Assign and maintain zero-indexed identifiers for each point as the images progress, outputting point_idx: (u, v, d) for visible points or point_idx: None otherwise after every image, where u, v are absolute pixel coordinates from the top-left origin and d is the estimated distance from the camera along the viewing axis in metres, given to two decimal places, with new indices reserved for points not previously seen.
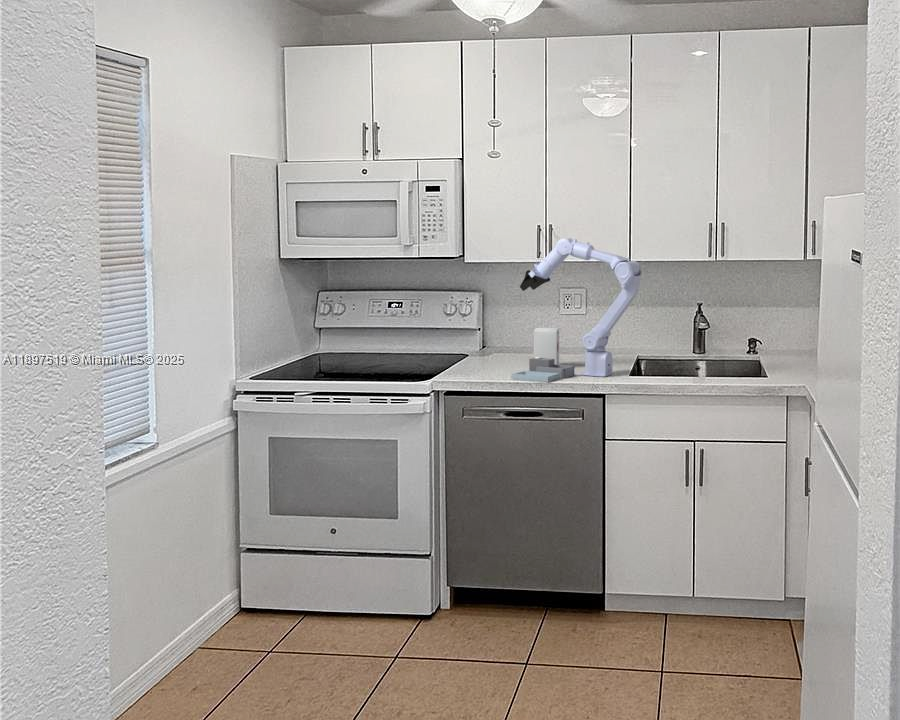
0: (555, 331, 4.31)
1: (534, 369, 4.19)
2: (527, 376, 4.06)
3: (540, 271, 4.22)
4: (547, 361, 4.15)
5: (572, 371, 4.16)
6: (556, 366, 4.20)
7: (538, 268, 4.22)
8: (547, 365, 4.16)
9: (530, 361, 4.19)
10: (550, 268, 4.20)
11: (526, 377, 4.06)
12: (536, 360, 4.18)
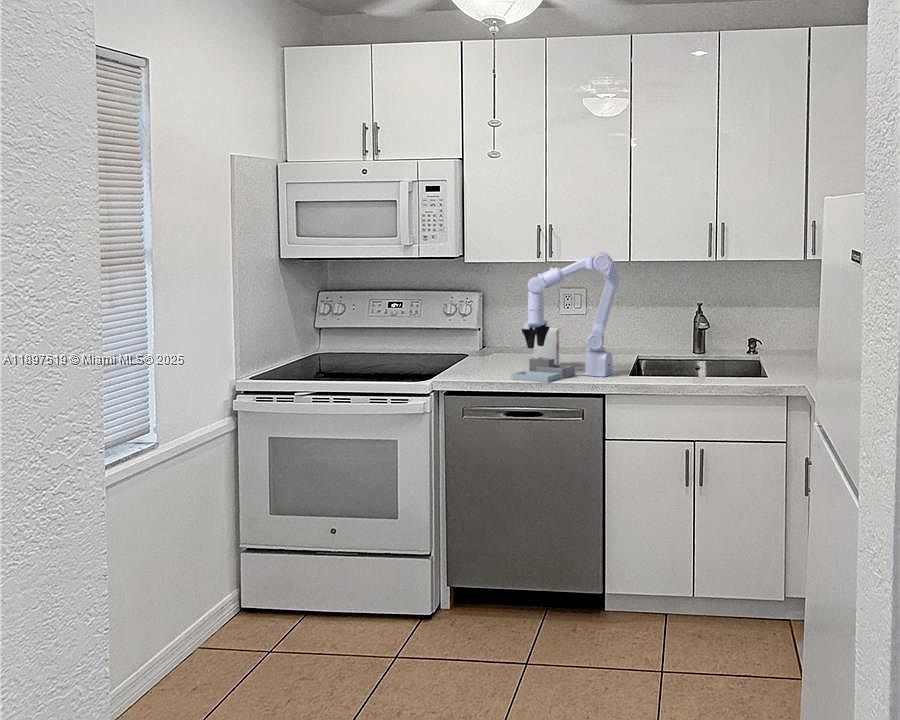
0: (555, 331, 4.31)
1: (534, 369, 4.19)
2: (527, 376, 4.06)
3: (532, 321, 4.16)
4: (547, 361, 4.15)
5: (572, 371, 4.16)
6: (556, 366, 4.20)
7: (529, 320, 4.17)
8: (547, 365, 4.16)
9: (530, 361, 4.19)
10: (538, 311, 4.16)
11: (526, 377, 4.06)
12: (536, 360, 4.18)
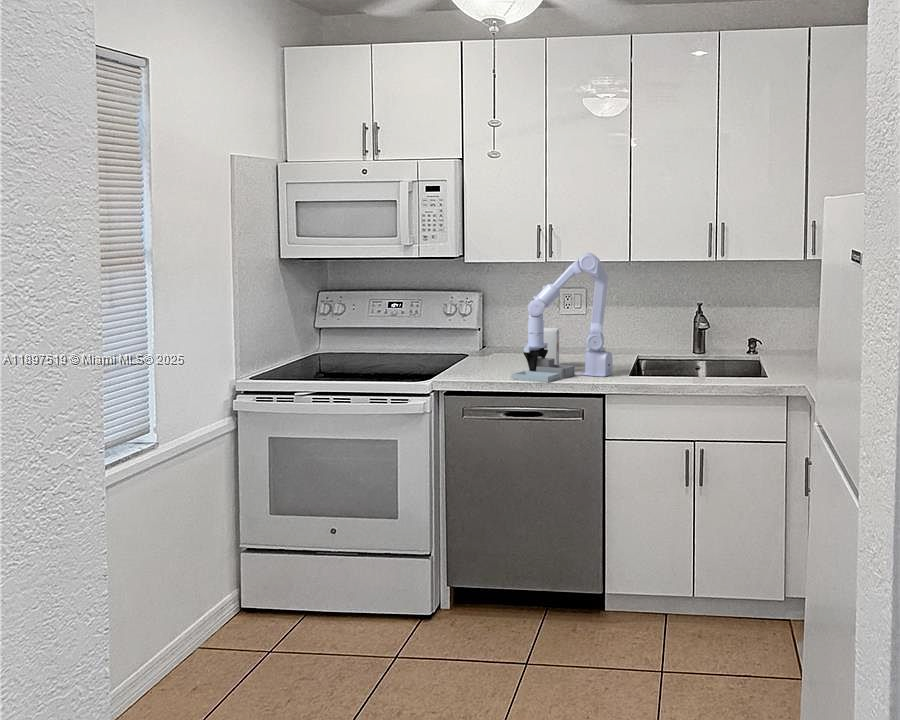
0: (555, 331, 4.31)
1: None
2: (527, 376, 4.06)
3: (532, 344, 4.17)
4: (547, 361, 4.15)
5: (572, 371, 4.16)
6: (556, 366, 4.20)
7: (529, 344, 4.18)
8: (547, 365, 4.16)
9: None
10: (538, 335, 4.17)
11: (526, 377, 4.06)
12: None
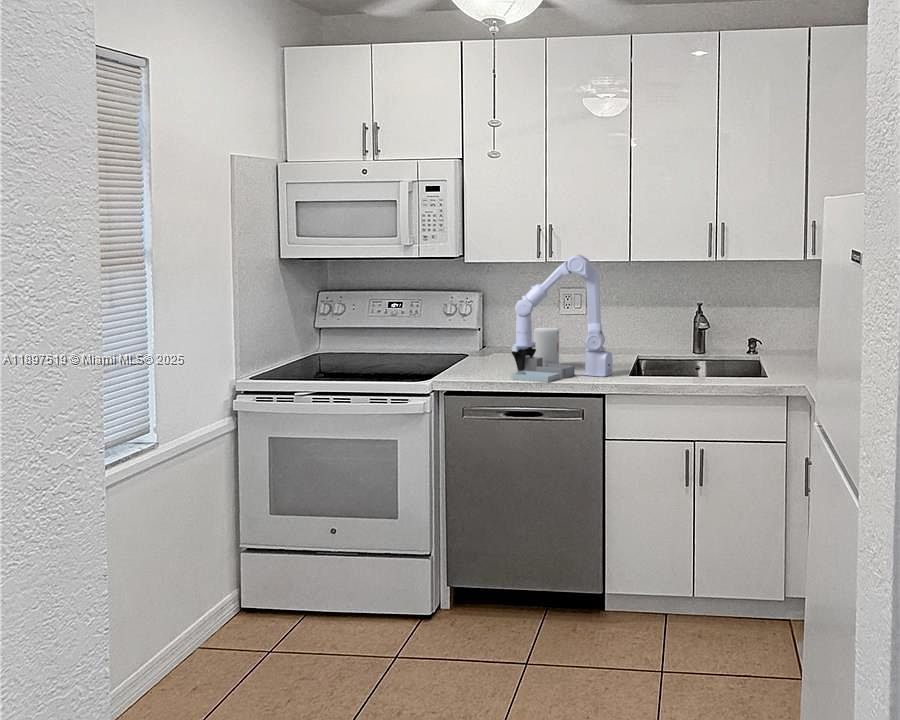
0: (555, 331, 4.31)
1: None
2: (527, 376, 4.06)
3: (520, 343, 4.20)
4: (535, 360, 4.18)
5: (572, 371, 4.16)
6: (556, 366, 4.20)
7: (517, 343, 4.21)
8: (535, 364, 4.18)
9: None
10: (526, 334, 4.19)
11: (526, 377, 4.06)
12: None
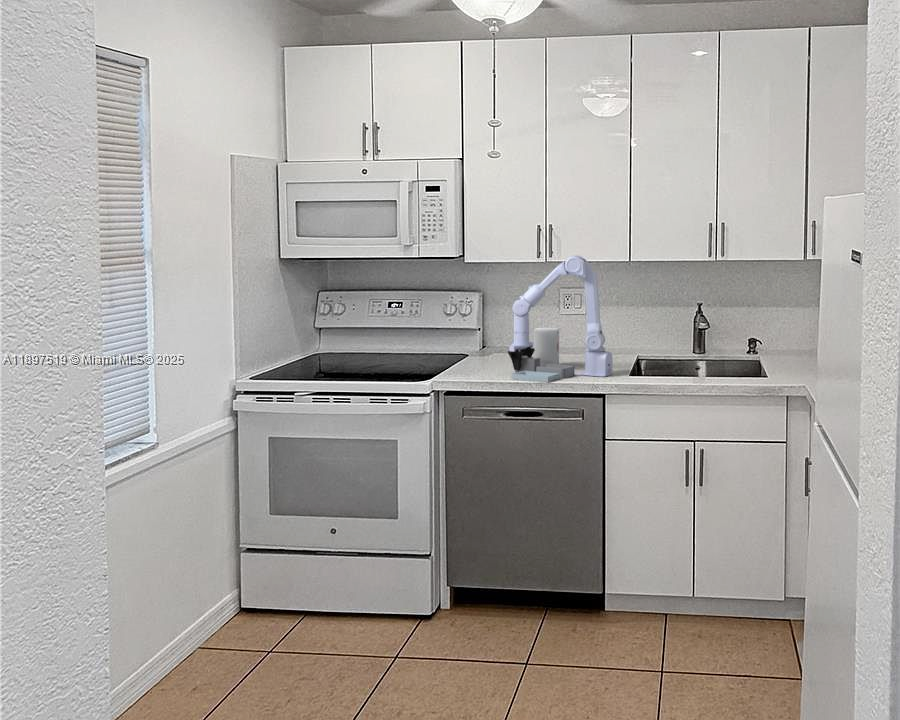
0: (555, 331, 4.31)
1: (520, 368, 4.22)
2: (527, 376, 4.06)
3: (518, 343, 4.20)
4: (533, 360, 4.19)
5: (572, 371, 4.16)
6: (556, 366, 4.20)
7: (515, 343, 4.21)
8: (533, 364, 4.19)
9: None
10: (523, 334, 4.20)
11: (526, 377, 4.06)
12: (522, 359, 4.21)
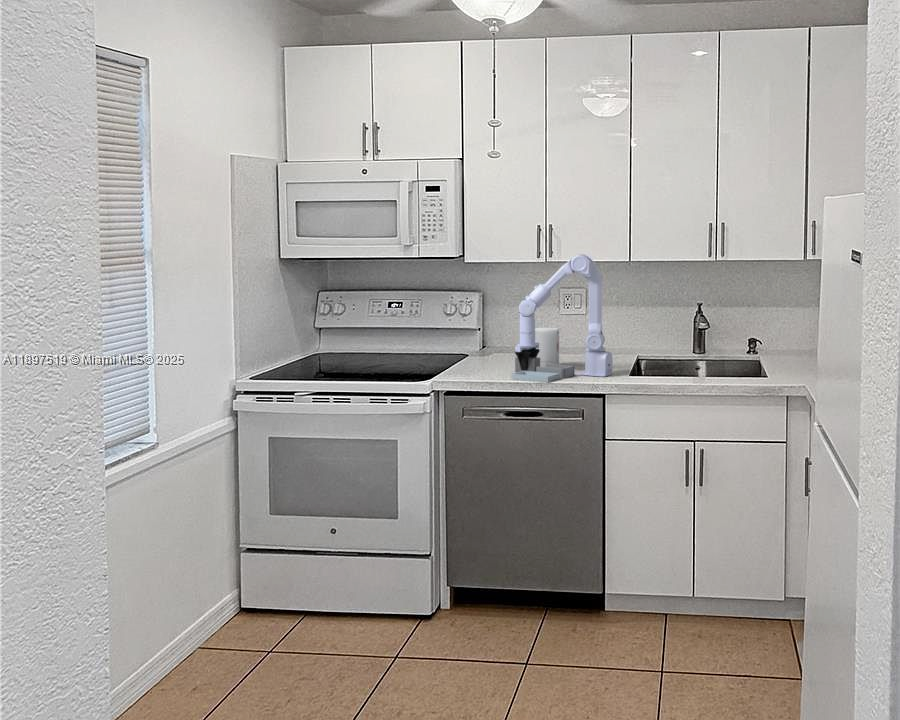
0: (555, 331, 4.31)
1: (520, 368, 4.22)
2: (527, 376, 4.06)
3: (524, 343, 4.19)
4: (533, 360, 4.19)
5: (572, 371, 4.16)
6: (556, 366, 4.20)
7: (521, 343, 4.20)
8: (533, 364, 4.19)
9: (516, 360, 4.22)
10: (529, 334, 4.18)
11: (526, 377, 4.06)
12: None
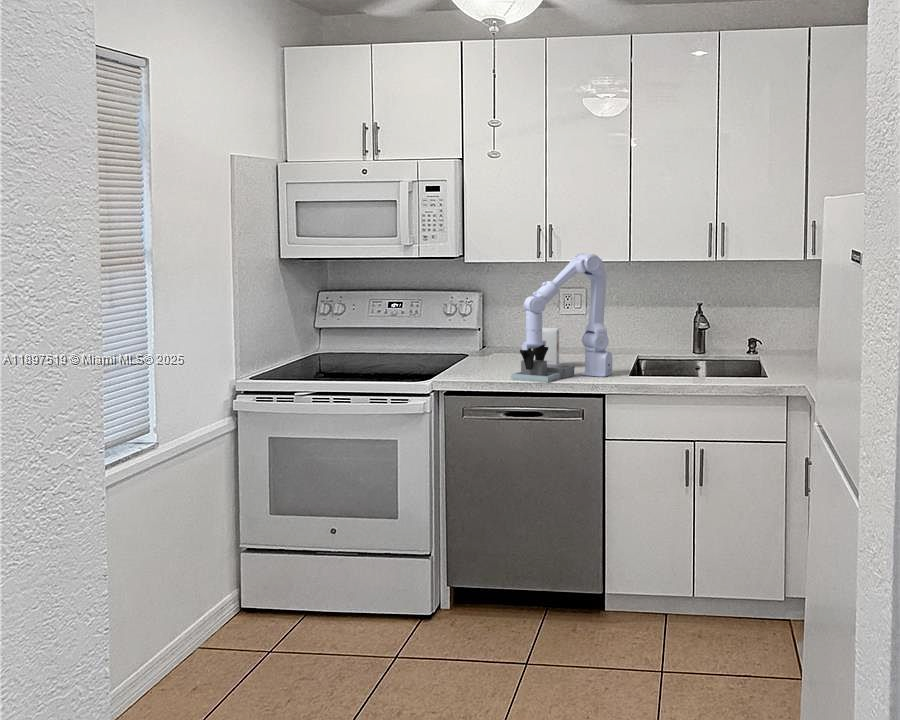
0: (555, 331, 4.31)
1: (526, 371, 4.08)
2: (527, 376, 4.06)
3: (531, 341, 4.05)
4: (539, 363, 4.05)
5: (572, 371, 4.16)
6: (556, 366, 4.20)
7: (527, 341, 4.06)
8: (540, 367, 4.06)
9: (522, 363, 4.09)
10: (536, 332, 4.05)
11: (526, 377, 4.06)
12: None
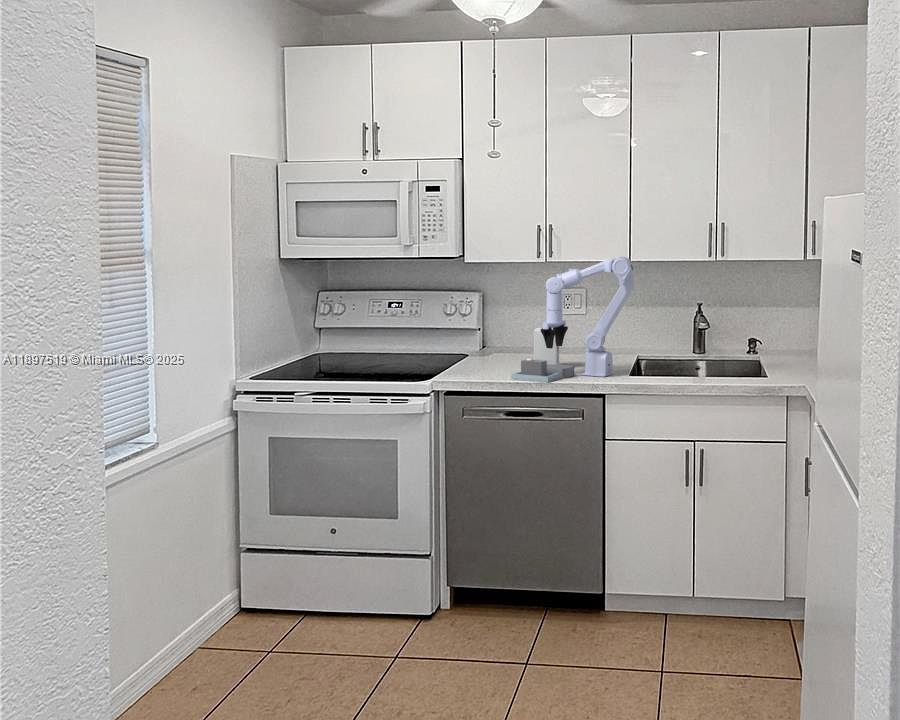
0: None
1: (526, 371, 4.08)
2: (527, 376, 4.06)
3: (551, 321, 4.17)
4: (539, 363, 4.05)
5: (572, 371, 4.16)
6: (556, 366, 4.20)
7: (548, 320, 4.17)
8: (540, 367, 4.06)
9: (522, 363, 4.09)
10: (556, 311, 4.16)
11: (526, 377, 4.06)
12: (528, 362, 4.08)
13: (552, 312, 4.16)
